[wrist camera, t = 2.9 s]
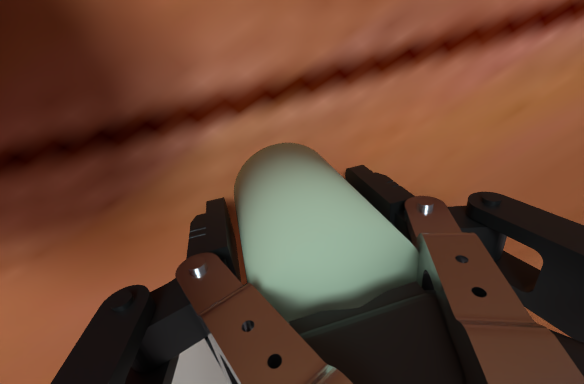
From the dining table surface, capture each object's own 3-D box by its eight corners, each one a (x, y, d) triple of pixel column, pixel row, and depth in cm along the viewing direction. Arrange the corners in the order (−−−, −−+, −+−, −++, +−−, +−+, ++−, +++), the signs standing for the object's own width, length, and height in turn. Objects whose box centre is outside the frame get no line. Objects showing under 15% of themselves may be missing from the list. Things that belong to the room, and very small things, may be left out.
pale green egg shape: (327, 133, 13) (431, 206, 7) (334, 220, 15) (416, 333, 9) (222, 155, 12) (233, 260, 6) (245, 243, 14) (271, 384, 8)
